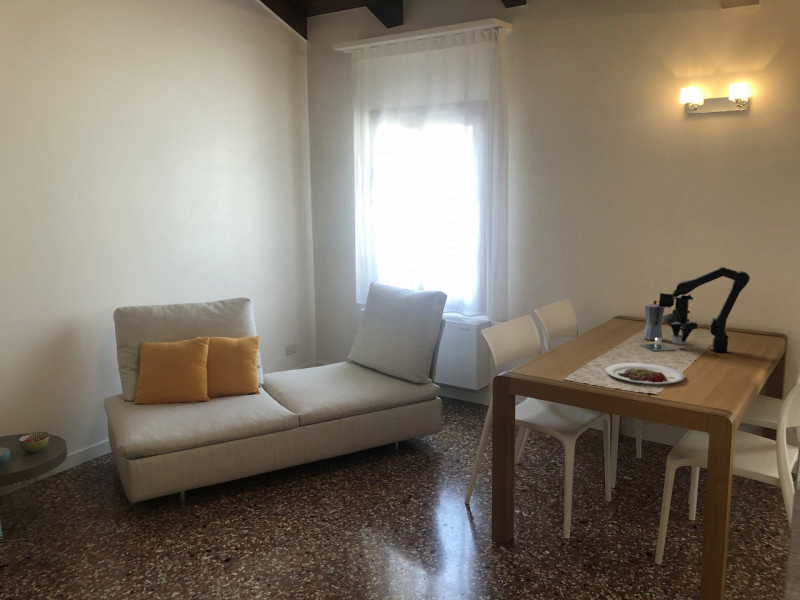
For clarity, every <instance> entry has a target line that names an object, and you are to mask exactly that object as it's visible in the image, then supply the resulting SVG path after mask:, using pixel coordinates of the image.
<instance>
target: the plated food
mask: <svg viewBox="0 0 800 600" xmlns="http://www.w3.org/2000/svg"><path fill="white" fill-rule="evenodd" d="M605 372H606V373H607V374H608V375H609V376H612V377H613V378H615V379H619V380H622V381H626V382H629V383H634V384H640V383H643V385H666V384H674V383H678V382H681V381H683V380H684V379H685V374H684V373H683V372H682V371H679V370H677V369H674V368H671V367H668V366H663V365H658V364H651V363H650V364H649V363H641V362H638V363H637V362H625V363H616V364H612V365H608V366H607V367H606V368H605ZM666 377H674V378H675V379H674V378H673V379H672V378H671V379H670V378H669V379H668V378H666ZM667 380H669V382H663V381H667ZM655 382H657V383H655ZM658 382H659V383H658ZM660 382H661V383H660ZM662 382H663V383H662Z"/></svg>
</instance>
